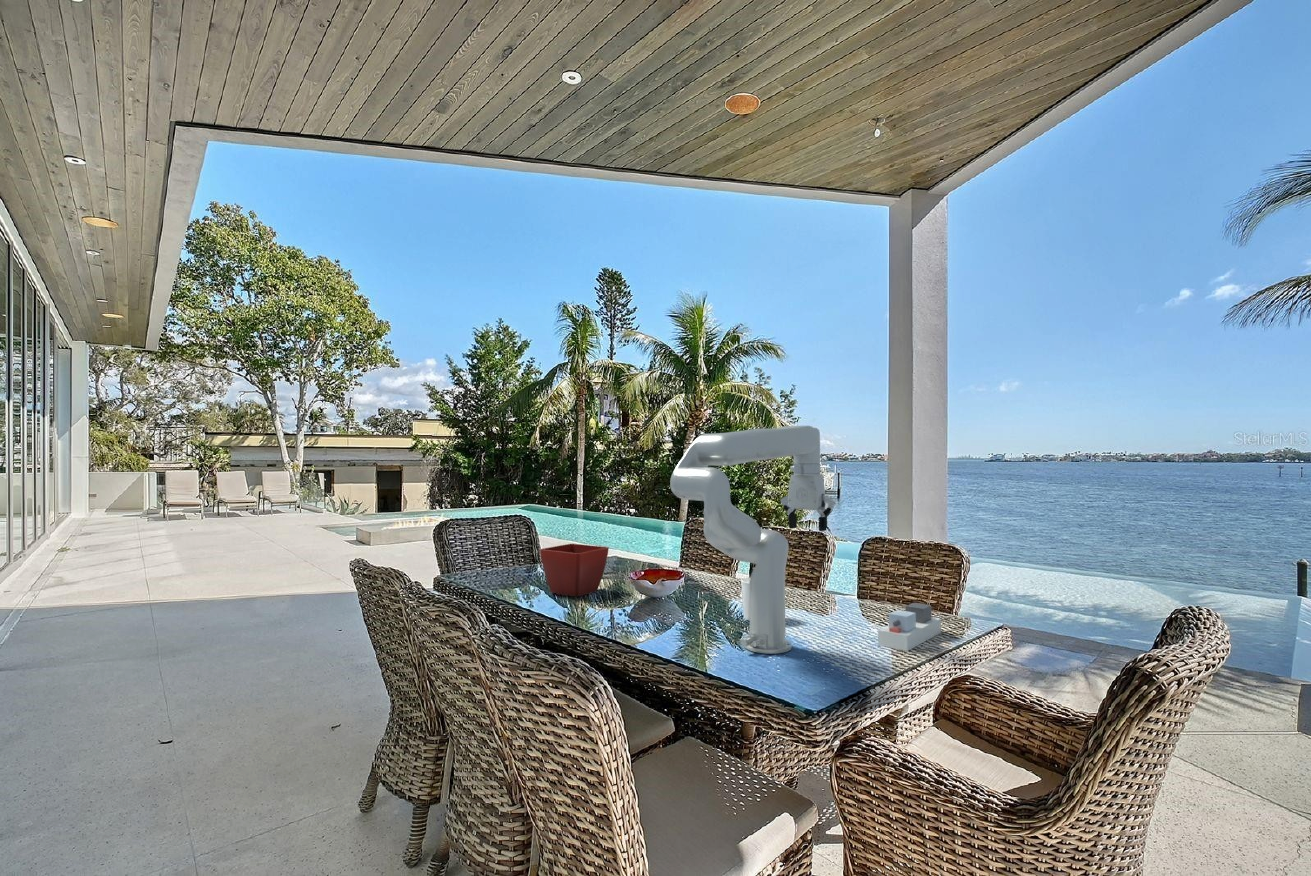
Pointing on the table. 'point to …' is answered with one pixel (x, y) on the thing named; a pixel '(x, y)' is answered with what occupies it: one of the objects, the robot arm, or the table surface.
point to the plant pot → (574, 568)
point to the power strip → (909, 635)
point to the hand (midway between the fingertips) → (807, 529)
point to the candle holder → (746, 598)
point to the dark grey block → (920, 611)
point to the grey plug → (902, 620)
